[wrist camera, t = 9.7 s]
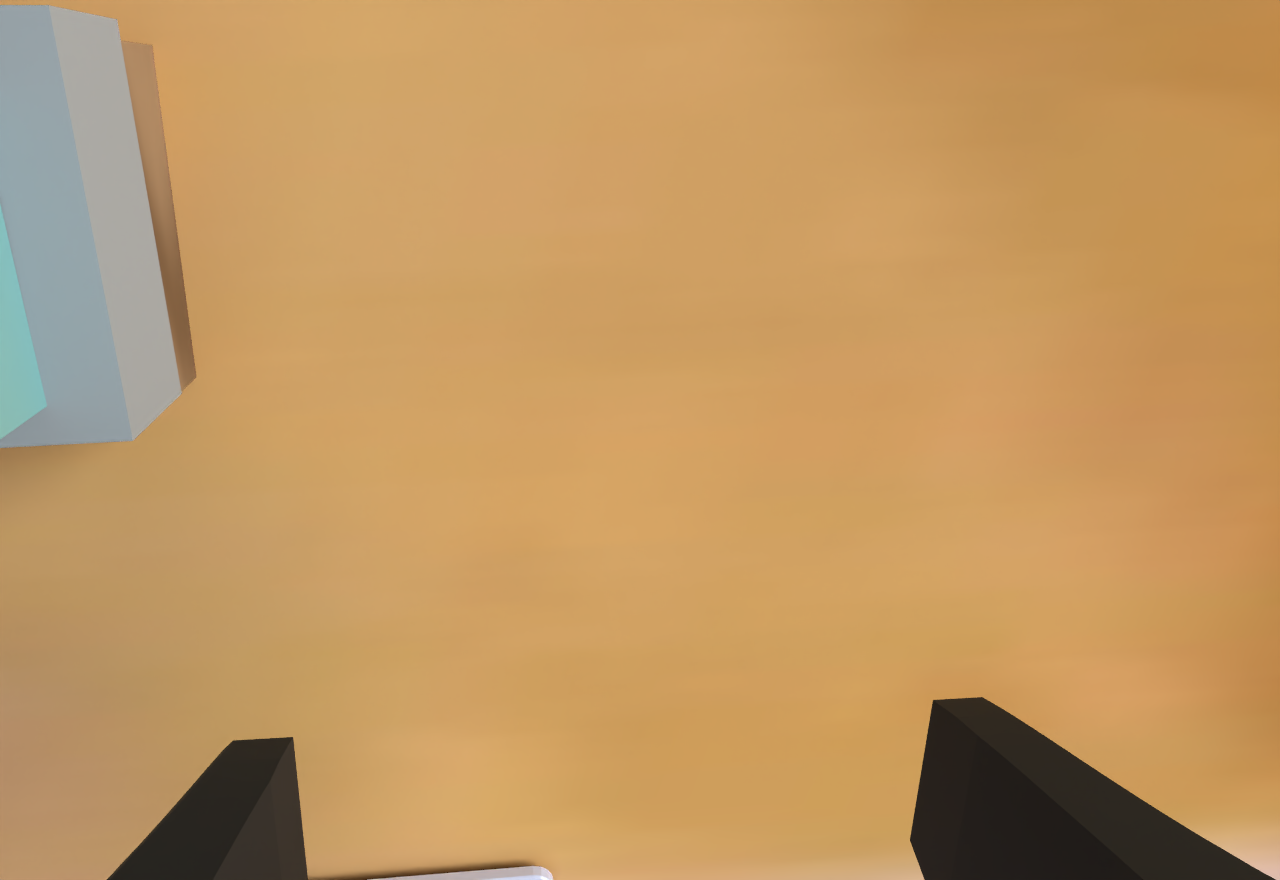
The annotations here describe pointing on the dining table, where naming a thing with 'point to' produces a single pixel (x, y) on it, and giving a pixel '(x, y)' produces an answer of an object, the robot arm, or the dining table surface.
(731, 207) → the dining table surface
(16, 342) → the teal block
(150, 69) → the walnut base slab
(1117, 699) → the dining table surface
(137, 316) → the slate top slab
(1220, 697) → the dining table surface
